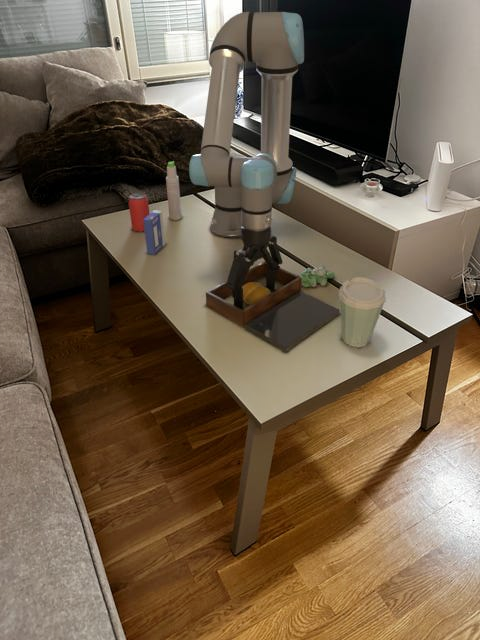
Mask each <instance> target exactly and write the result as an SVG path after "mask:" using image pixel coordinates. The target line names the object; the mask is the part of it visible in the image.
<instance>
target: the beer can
mask: <svg viewBox="0 0 480 640" xmlns="http://www.w3.org/2000/svg"><path fill="white" fill-rule="evenodd" d="M147 197H148V196H147V194H146V193H144V192H133V193H131V194H129V196H128V209H129V216H130V222H131V223H130V224H131V229H132V230H133V231H135V232H138V233H139V232H140V233H142V232H145V231H144V223H143V219H144V218H146V217H147V216H148V215H149V214H150V213H151V212H150V206H149V200H148V198H147Z"/></svg>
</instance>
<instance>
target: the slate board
mask: <svg viewBox="0 0 480 640" xmlns="http://www.w3.org/2000/svg"><path fill="white" fill-rule="evenodd" d="M340 312H341V308H337V307H335V306H334V305H331V304H329V303H327V302H325V301H323V300H321V299H318V298H316V297H314V296H313V295H310V294H308V293H306V292H304V291H302V290H301V291H300V292H298V293H297V294H295V295H293V296H292V297H290V298H288V299H287V300H285V301H284V302H282V303H280V304H279V305H277V306H275V307H274V308H272V309H271V310H269V311H267V312H266V313H264V314H262V315H261V316H259V317H257V318H256V319H254V320H253V321H251V322H249V323H248V324H246V325H245V330H246V331H247V332H249V333H251V334H253V335H254V336H256V337H257V338H260V339H262V340H263V341H265V342H267V343H269V344H270V345H272V346H273V347H275V348H277V349H278V350H280V351H282V352H284V353H286V352H288V351H290V350H291V349H292V348H294V347H296V346H297V345H298V344H299V343H301V342H302V341H304V340H305V339H306V338H308V337H309V336H310V335H312V334H314V333H315V332H316V331H318V330H319V329H320V328H322V327H323V326H324V325H326V324H327V323H329V322H330V321H331V320H333V319H334V318H336V317H338V316H339V315H340Z"/></svg>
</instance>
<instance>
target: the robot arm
mask: <svg viewBox="0 0 480 640" xmlns="http://www.w3.org/2000/svg"><path fill="white" fill-rule="evenodd" d="M304 61H305V37H304V24H303V19H302V17H301V15H300V14H299V13H296V12H287V11H267V12H266V11H261V12H260V11H259V12H255V11H254V12H252V11H244V12H239V13H237V14H235V15H234V16H232V17H230V18H229V19H228V20H227V21H226V22H225V23H223V25H222V27H221V28H220V29H219V30H218V31H217V33H216V35H215V37H214V38H213V41H212V43H211V47H210V49H209V57H208V63H209V66H210V69H211V71H210V78H209V85H208V93H207V101H206V108H205V114H204V115H205V116H204V121H203V122H204V123H203V130H202V138H201V147H200V153H199V154H193V155H192V156H191V158H190V160H189V165H188V166H189V167H188V168H189V169H188V173H189V175H188V176H189V179H190V181H191V183H192V184H193V185H195V186H202V187H208V188H209V187H214V211H213V215H212V217H211V221H210V231H211V232H212V233H213V234H214V235H215V236H218V237H221V238H226V239H227V238H229V239H230V238H231V239H237V238H240V239H241V241H242V243H243V246H242V249H241V250H237V249H235V250H234V251H233V258H232V259H233V260H232V262H231V266H230V270H229V273H228V276H227V280H226V281H227V283H226V287H228V288H230V289H232V294H231V297H232V299H233V305H234V306H236V307H238V308H240V309H242V310H244V301H243V288H242V287H241V286H242V283H243V281H244V279H245V277H246V275H247V273H248V271H249V269H251V268H252V267H254V264H255V262H257V261H258V260H261V259H263V260H264V262H265V261H266V263H267V264H268V265H269V266H270V267H267V271H266V276H265V288H268V289H269V290H270V291H271V292H274V291H276V281H275V278H276V272H277V270H279V269H280V268H281V265H282V264H283V258H282V255H281V252H280V250H279V247H278V238H277V236H274V235H273V234H272V213H273V211H272V210H273V204H274V205H287V204H289V203H290V202H291V201H292V197H293V194H294V193H293V192H294V187H295V183H296V182H295V181H296V177H297V171H298V169H297V167H295V166H293V163H294V162H293V160H292V159H291V158H290V157H289V152H290V151H289V147H290V132H291V131H290V129H291V109H292V89H293V77H294V75H295V74H297V72H298V71H299V65H301V64H303V63H304ZM245 63H256V64H255V65H256V66H255V67H256V68H255V69H256V72H257V73H258V74H259V75H260V77H261V108H260V109H261V111H260V113H261V115H260V153H259V154H256V155H255V156H253V157H247V156H230V154H231V146H232V141H233V140H232V139H233V132H234V131H233V130H234V124H235V123H234V122H235V113H236V105H237V98H238V89H239V82H240V73H241V72H242V71H243V70H244V68H245V65H246V64H245ZM237 283H238V284H237Z"/></svg>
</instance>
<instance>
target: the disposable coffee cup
mask: <svg viewBox="0 0 480 640" xmlns="http://www.w3.org/2000/svg"><path fill="white" fill-rule="evenodd" d="M338 298H339V299H340V300H339V303H340V323H341V324H340V325H341V338H342V340H343V342H344V343H345V344H346V345H349V346H350V347H353V348H361V347H365V346H366V345H368V344H369V342H371V339H372V337H373V333H374V331H375V329H376V326H377V323H378V320H379V318H380V315H381V312H382V310H383V307H384V305H385V303H386V302H387V301H386V299H387V298H386V291H385V289H384V288H383V287H382V286H381V285H380V284H379V282H377V281H375V280H372V279H370V278H367V277H363V276H362V277H361V276H356V277H351V278H348V279H346V280H345V281H344V282H342V285H341V286H340V287H339V290H338Z"/></svg>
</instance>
